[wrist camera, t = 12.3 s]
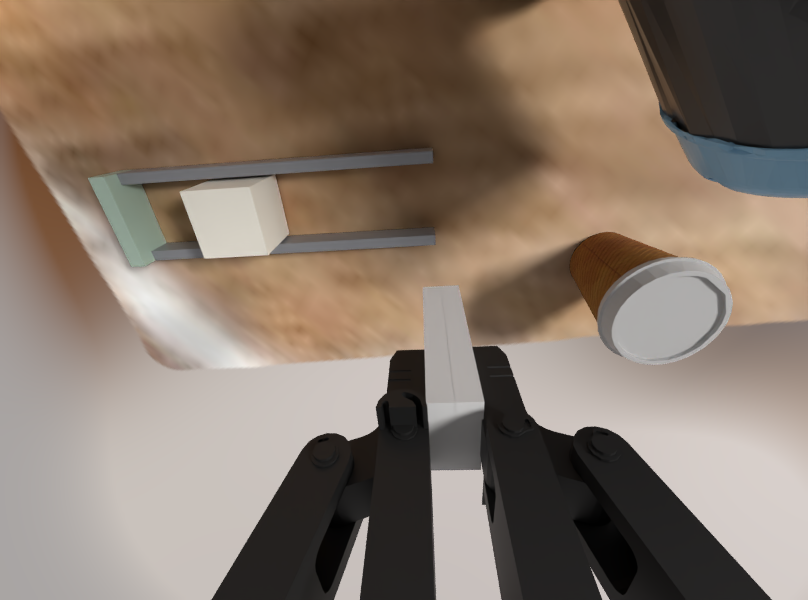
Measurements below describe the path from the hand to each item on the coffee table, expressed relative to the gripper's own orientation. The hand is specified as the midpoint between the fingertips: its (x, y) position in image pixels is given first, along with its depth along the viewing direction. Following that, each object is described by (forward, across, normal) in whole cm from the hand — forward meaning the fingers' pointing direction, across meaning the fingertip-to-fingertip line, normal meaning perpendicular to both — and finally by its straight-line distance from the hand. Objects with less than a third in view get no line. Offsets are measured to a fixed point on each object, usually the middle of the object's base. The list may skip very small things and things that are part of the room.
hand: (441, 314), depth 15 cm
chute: (+22, -14, 0) cm, 26 cm away
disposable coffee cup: (+23, +18, -8) cm, 30 cm away
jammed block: (+22, -18, 0) cm, 29 cm away
